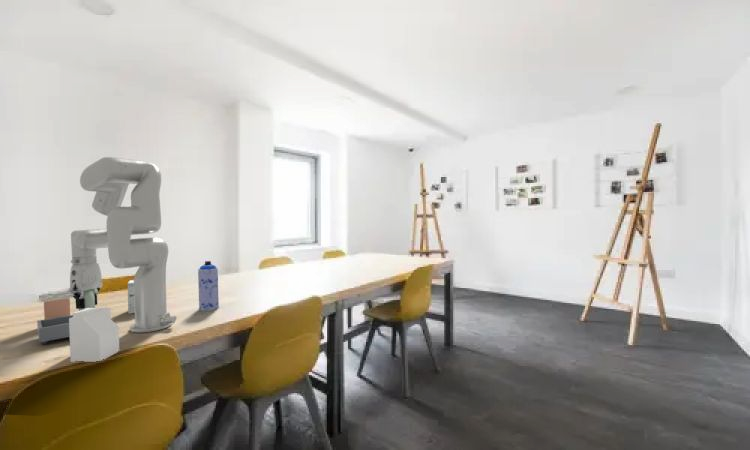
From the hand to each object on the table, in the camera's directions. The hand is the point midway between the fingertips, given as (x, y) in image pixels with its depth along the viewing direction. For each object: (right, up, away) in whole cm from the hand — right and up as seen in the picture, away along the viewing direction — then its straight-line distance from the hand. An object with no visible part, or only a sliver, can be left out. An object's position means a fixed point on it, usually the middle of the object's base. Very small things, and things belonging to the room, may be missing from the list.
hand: (86, 306), depth 141 cm
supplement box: (+17, -3, +6) cm, 19 cm away
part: (0, -2, 0) cm, 2 cm away
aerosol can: (+45, -3, +9) cm, 46 cm away
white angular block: (+34, -5, -39) cm, 52 cm away
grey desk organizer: (+8, -4, -20) cm, 22 cm away
